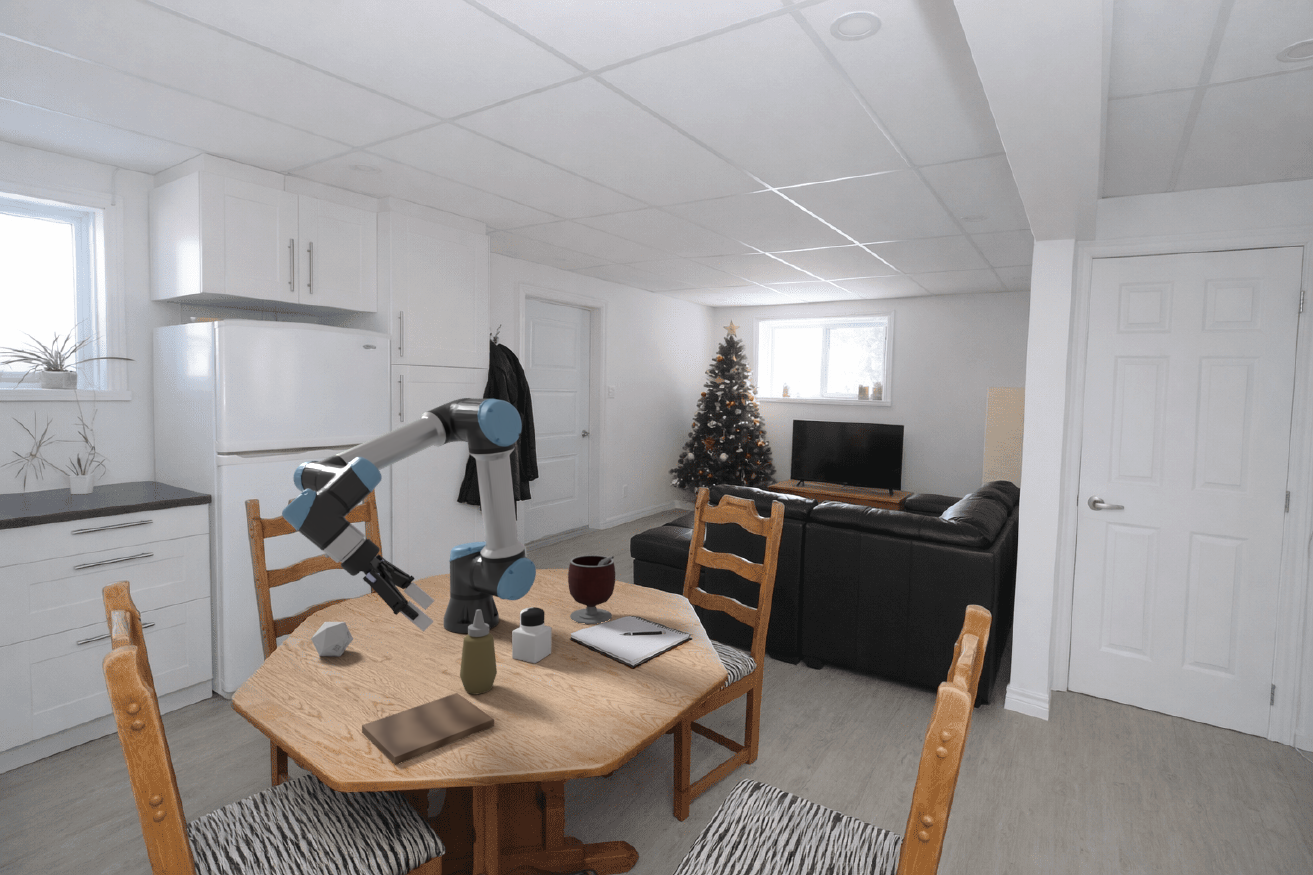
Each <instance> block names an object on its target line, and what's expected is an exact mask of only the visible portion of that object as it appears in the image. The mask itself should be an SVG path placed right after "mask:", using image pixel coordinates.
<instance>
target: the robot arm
mask: <svg viewBox="0 0 1313 875" xmlns="http://www.w3.org/2000/svg"><path fill="white" fill-rule="evenodd" d="M522 426H523V425H522V419H521V415H520V413H519V411H518V410H517V408H516V407H515V406H514V405H513V404H511V402H508V401H506V400H503V399H496V398H474V397H473V398H472V397H463V398H458V399H454V400H452V401H449V402H447V403H443V404H441V405H439V406H437V407H434V408H433V409H430V410H428V411H425V412H423V413H422V414H421V415H420V417H419V418H418V419H416V420H413V421H411V422H410V423H407V424H405V425H402V426H400V427H397V428H395V429H393V430H390V431H388V432H386V433H383V434H381V435H379V436H377V437H374V438H372V439H369V440H367V441H364V442H362V443H360V444H358V445H355V446H352V447H351V448H349V449H348V448H347V449H346V450H343V451H342V452H339V453H337V454H333V455H332V456H329V457H326V458H324V459H322V460H320V461H319V460H311V461H309V460H308V461H305V462H302V463H301V464H300V465H299V466H297V468H296V469H295V471H294V473H293V483H294V486H295V487H296V489H297V490H298V491H300V492H301V493H300V494H298V496H296V497H295V498H294V499H292V501H291V502H289V504H287V506H286V507H284V509H283V510H282V513H281V516H282V518H283V519H284V520H285V521H286V522H287V523H288V524H289V525H290V526H292V527H293V528H294V529H295V531H297V532H299V533H300V534H301V535H303V537H305V538H306V539H307V540H308V541H310V542H311V543H313V544H314V545H315V546H316V547H317V548H318V549H319V550H321V551H323V553H324V557H325V558H330V559H332V561H334V562H335V563H340V567H341V568H342V569H343V570H344V571H346V573H348V574H349V575H350V576H353V577H354V576H356V575H358V574H359V573H360V572H362V573H363V574H364V577H363V578H362V580H363V581H364V582H365V583H366V584H367V585H369V586H370V588H372V589H373V591H374V592H376V594H377V595H378V596H379V597H380V598H381V599H382V600H383V602H384V603H385V604H386V605H387V606H388V607H389V608H390V609H391V611H392V613H393V614H394V615H396V616H397V615H398V614H399V613H401V615H403V616H404V617H405V618H407V620H408V621H410V622H411V623H412V624H414V626H416V627H417V628H418V629H420V631H422V632H426V630H427V629H428V628H429V627H430V626H431V625H432V624H433V623H434V620H433V619H432V618H431V617H429V615H428V614H426V613H425V612H424V611H423V610H425V611H426V610H427V609H428V608H430V606H432V605H433V603H434V602H435V599H434V598H433V597H432V596H430V595H429V594H428V593H427V592H426V591H425V590H423V589H422V588H421V587H419V585H418V584H416V583H415V582H414V580H415V577H414V576H413V575H410V574H408V573H406V572H405V571H404V570H403V569H400V568H399V567H398V566H396V565H395V564H393V563H392V562H390V561H388V560H386V558H385V557H383V556H382V555H380V554H379V552H380V550H381V549H380V547H379V546H378V545H377V544H376V543H375V542H373V541H372V540H371V539H369V538H365V533H363V532H362V531H361V530H359V529H358V528H357V527H356V526H355V525H353V524H352V523H351V522H350V521H349V520H347V518H346V516H348V514H350V513H351V511H353V510H354V509H355V508H356V507H357V506H358V505H359V504H360V503H361V502H362V501H363V500H365V499H366V497H368V496H369V495H370V494H371V493H373V491H374V490H375V488H376V487H378V485H379V484H380V483H381V481H382V479H383V478H382V473H381V470H383V469H385V468H387V467H389V466H391V465H394V464H396V463H398V462H401V461H402V460H404V459H406V458H409V457H410V456H413V455H416V454H418V453H420V452H422V451H424V450H427V449H429V448H431V447H433V446H434V447H438V448H439V447H442V446H444V445H447V444H450V443H455V442H457V443H458V442H465V443H467V446H468V454H469V455H470V456H471V457H473V458H474V459H475V464H476V472H477V473H476V474H477V482H478V490H479V497H480V499H479V500H480V507H481V508H480V509H481V516H482V526H483V534H484V541H474V542H465V543H462V544H457V545H455V546H453V547H452V548H451V550H450V552H449V553H450V556H449V560H448V562H449V600H448V603H447V607H446V610H445V612H444V616H443V628H444V629H445V630H446V631H449V632H453V633H459V634H468V626H469V625H471V624H473V622H474V617H475V613H476V610H478V609H481V610H482V615H483V619H484V623H486V624H488V625H489V630H491V629H493V628H495V627H496V626H498V625H499V621H500V615H499V614H500V613H499V611H498V608H497V605H496V601H495V599H494V597H497V598H499V599H500V600H507V601H518V600H520V599H521V598H523V597H525V596H526V595H527V594H528V593H529V591H530V590H531V588H532V587H533V585H534V582H535V581H536V575H537V568H536V565H535V563H534V561H532V559H530V558H529V557H526V551H525V550H526V549H525V545H524V543H522V542H521V541H519V538H518V536H519V535H518V526H517V525H518V524H517V518H516V517H517V516H516V506H515V505H516V504H515V497H514V489H513V487H514V486H513V477H512V468H511V458H510V455H512V452H513V451H514V450H515V448H516V447H515V443H516V442H517V441H518V440H519V438H520V434H521V433H522ZM398 588H400V589H402V590H403V592H404V594H406V595H407V596H408V597H409V598H410V599H412V600H413V601H414V602H415V603H416V604H418V606H420V607H421V608H423V610H421V608H419V607H418V606H416V605H415V603H413V602H412V601H411V600H409V601H408V600H407V598H406V597H405V595H403V594H402V592H401V591H400V589H398Z"/></svg>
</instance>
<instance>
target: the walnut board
mask: <svg viewBox="0 0 1313 875" xmlns="http://www.w3.org/2000/svg"><path fill="white" fill-rule="evenodd" d="M493 727H495V718H494V717H492V716H491V715H489V714H488V713H487V712H485V711H484V710H482V709H481V708H479V707H478V706H476V705H475V704H473V703H472V702H471V701H470V700H468V699H467V698H465V697H464V696H462V695H461V694H460V693H458V692H456V693H453V694H449V695H447V696H444V697H441V698H438V699H434V700H432V701H429V702H426V703H423V704H421V705H418V706H414V707H411V708H409V709H406V710H403V711H400V712H399V711H398V712H397V713H394V714H391V715H387V716H385V717H382V718H380V719H376V720H374V721H370V722H368V723H364V724H362V725H361V733H362V734H363V735H364V736H365V737H366V738H367V739H368V740H369V741H370V742H371V743H372V744H373V745H374V746H375V747H376V748H377V749H378V750H379V751H380V752H381V753H382V754H383V755H384V756H385V757H386V758H387V759H388V760H389V761H390V760H391V761H392V762H391V761H390V762H391V763H392V764H393V763H394V764H393V766H397V765H400V764H402V763H404V761H405V762H407V761H409V760H412V759H415V758H417V757H419V756H422V755H425V754H426V753H430V752H431V751H435V750H438V749H440V748H442V747H445V746H448V745H450V744H452V743H455V742H457V741H460V740H463V739H465V738H467V737H470V736H472V735H473V736H474V735H475V734H478V733H480V732H482V731H486V730H488V729H491V728H493ZM406 760H407V761H406ZM401 762H402V763H401ZM399 763H400V764H399Z"/></svg>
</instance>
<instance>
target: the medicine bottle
mask: <svg viewBox="0 0 1313 875" xmlns="http://www.w3.org/2000/svg"><path fill="white" fill-rule="evenodd" d="M545 615H546V614H545V610H544V609H543V608H540V607H537V606H535V607H534V606H530V607H526V608H523V609H522V610H521V611H520V613H519V627H517V628H516V629H513V630H512V632H511V633H512V635H511V636H512V637H511V638H512V639H511V640H512V642H511V644H512V648H511V649H512V650H511V651H512V652H511V656H512V659H514V660H519V661H522V660H523V662H528V663H532V664H536V663H539V662H540V661H541V660H543V659H545V658H547V656H549V654H550V655H552V626H550V625H549V626H548V625H545Z"/></svg>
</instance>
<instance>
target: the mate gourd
mask: <svg viewBox="0 0 1313 875" xmlns="http://www.w3.org/2000/svg"><path fill="white" fill-rule="evenodd" d="M614 558H615V556H613V555H611V556H605V555H598V554H591V555H590V554H586V555H578V556H575V557H572V558H571V559H570V560H569V562H570V563H569V566H568V571H567V572H568V573H567V584H568V590H569V593H570V596H571V597H572V598H573V600H574V601H575V602H576V603H577V604H581V605H584V606H586V607H585V608H580V609H576V610H574V611H572V612H571V613H570V615H569V616H570V617H569V618H571V619H572V620H574V621H576V622H578V623H577V624H579V623H585V624H596V625H598V624H597V623H601V622H605V621H608V620H609V619H611V618H612V617H613V614H612V613H611V611H609V610H607V609H603V608H597V606H598V605H599V606H600V605H602V604H604V603H607V602H608V600H609V599H610V598H611V597H612V595H613V593H614V591H615V590H614V589H615V586H616V568H615V561H614ZM571 619H570V620H571ZM572 620H571V621H572ZM611 620H612V619H611ZM576 622H575V623H576ZM608 622H609V621H608ZM585 624H584V625H585Z"/></svg>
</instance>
